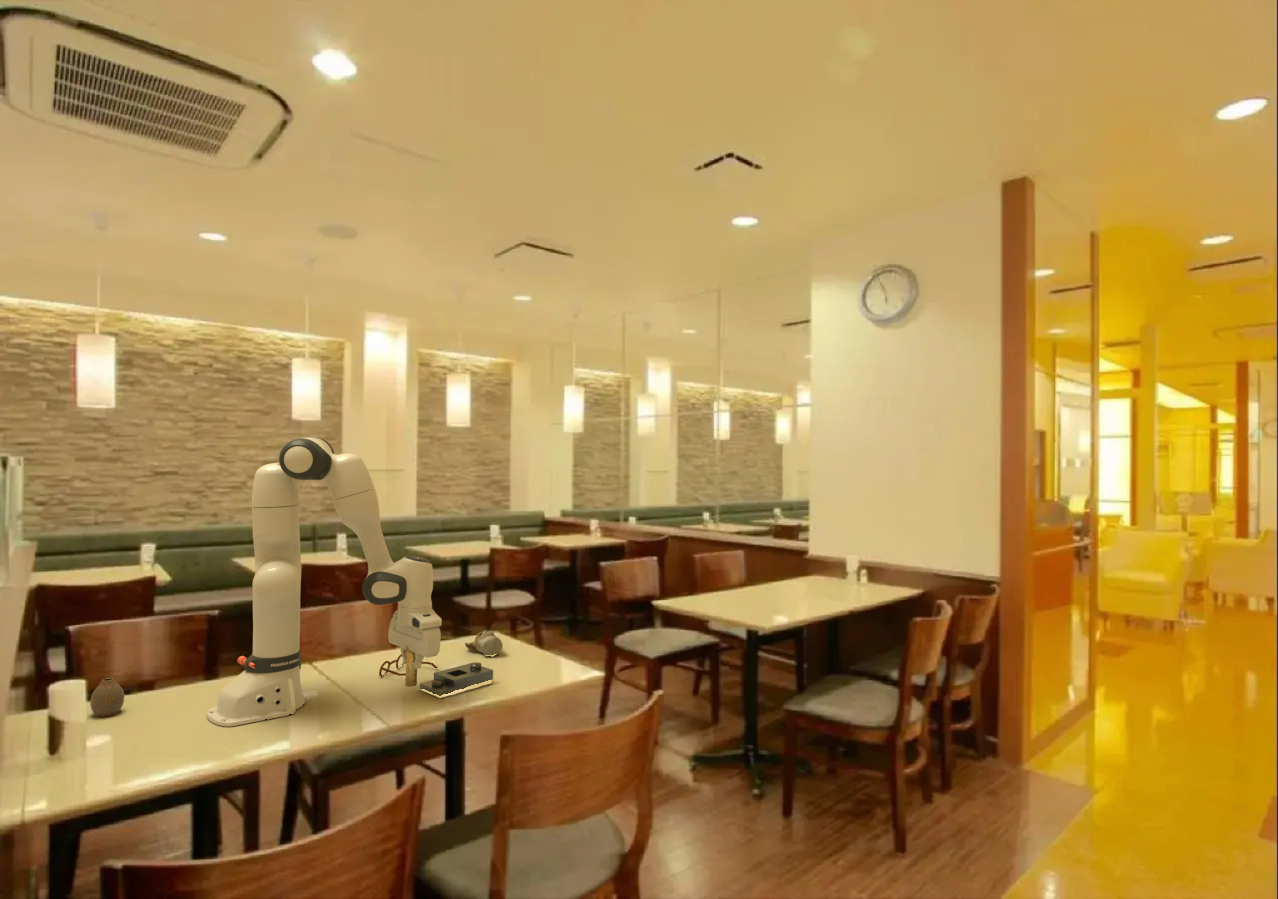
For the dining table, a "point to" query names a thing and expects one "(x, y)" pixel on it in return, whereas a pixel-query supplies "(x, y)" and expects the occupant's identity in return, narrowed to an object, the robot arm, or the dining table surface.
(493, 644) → the ceramic sculpture
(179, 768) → the dining table surface
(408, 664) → the pin
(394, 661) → the glasses
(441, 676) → the metal plate with knobs
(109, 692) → the vase
